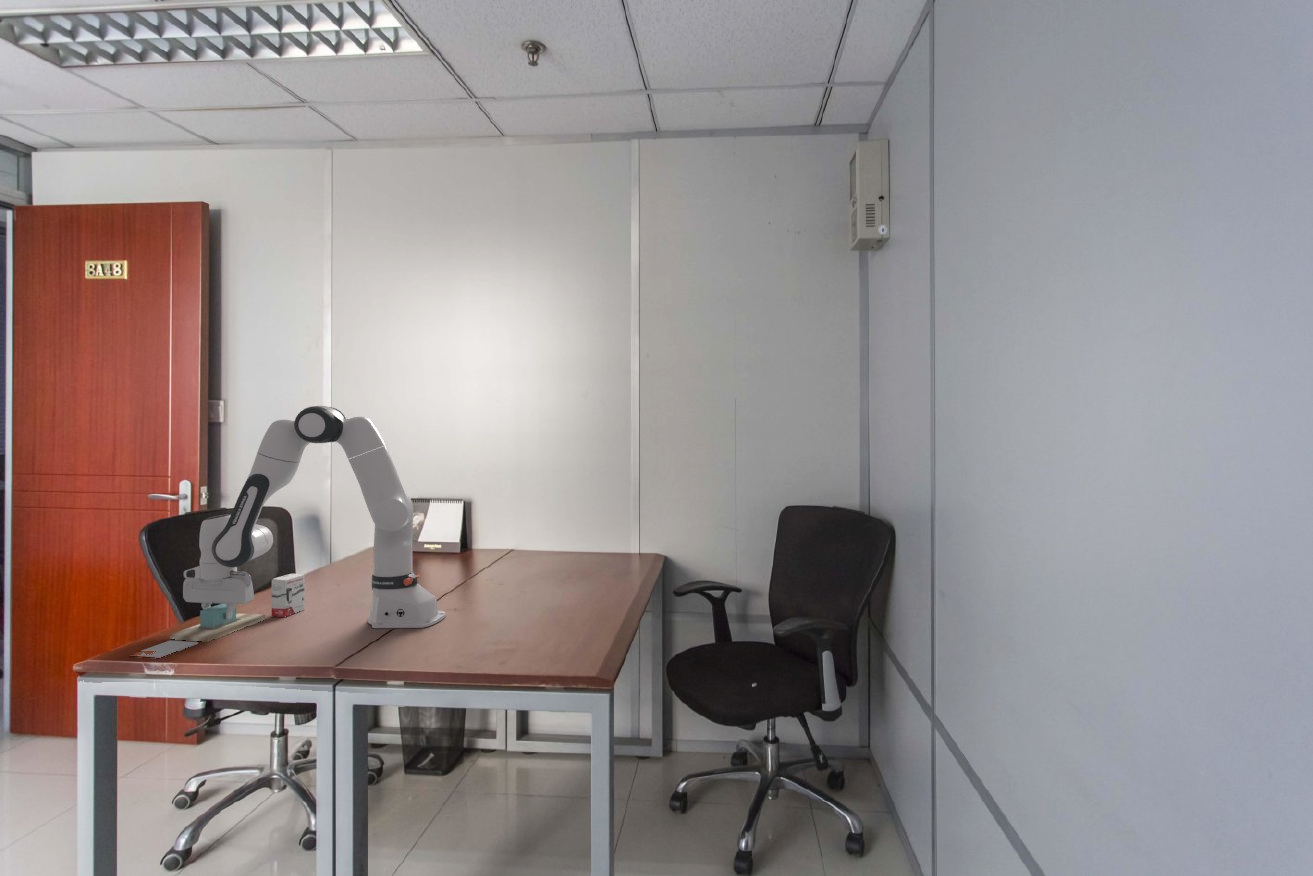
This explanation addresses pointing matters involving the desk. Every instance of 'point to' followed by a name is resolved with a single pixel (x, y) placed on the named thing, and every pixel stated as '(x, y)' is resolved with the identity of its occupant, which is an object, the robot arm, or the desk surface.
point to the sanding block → (215, 617)
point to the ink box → (287, 595)
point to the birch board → (210, 634)
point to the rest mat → (167, 648)
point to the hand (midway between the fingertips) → (219, 617)
